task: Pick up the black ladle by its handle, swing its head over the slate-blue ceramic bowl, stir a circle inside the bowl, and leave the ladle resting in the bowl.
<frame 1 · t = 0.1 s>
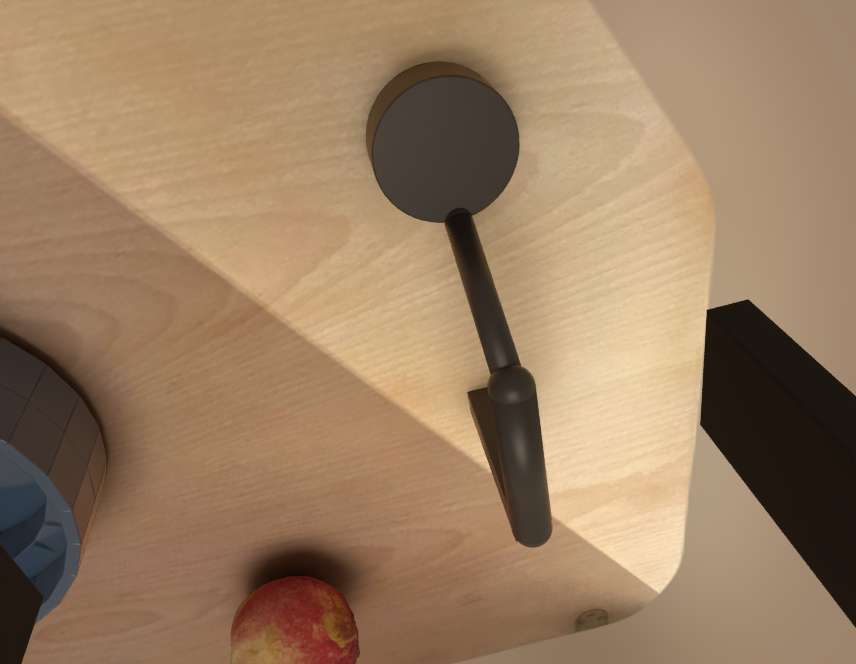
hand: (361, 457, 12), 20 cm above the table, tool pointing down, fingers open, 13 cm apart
fruit: (292, 583, 44), on the table
ladle: (436, 135, 29), on the table
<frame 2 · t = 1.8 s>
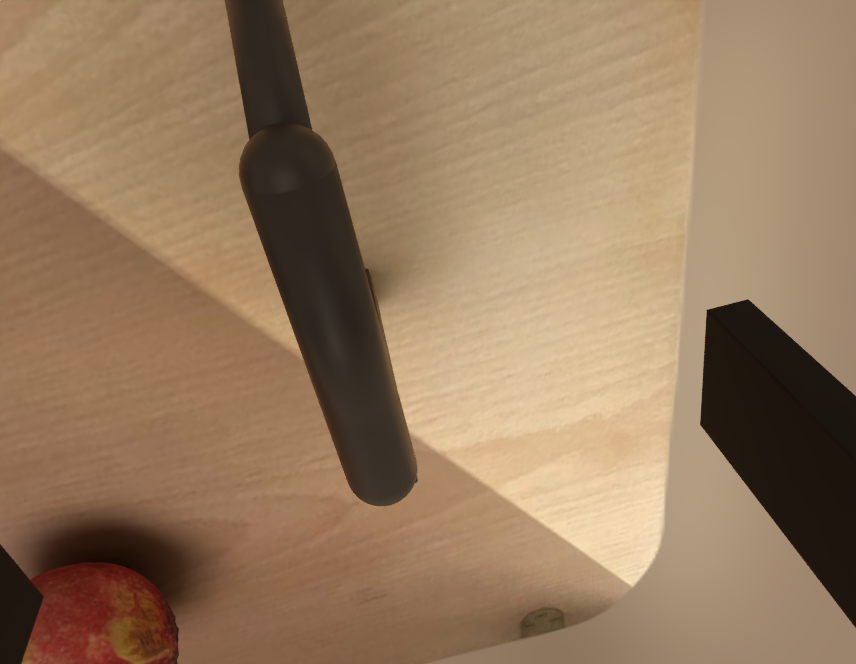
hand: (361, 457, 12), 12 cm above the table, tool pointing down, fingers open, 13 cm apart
fruit: (103, 574, 31), on the table
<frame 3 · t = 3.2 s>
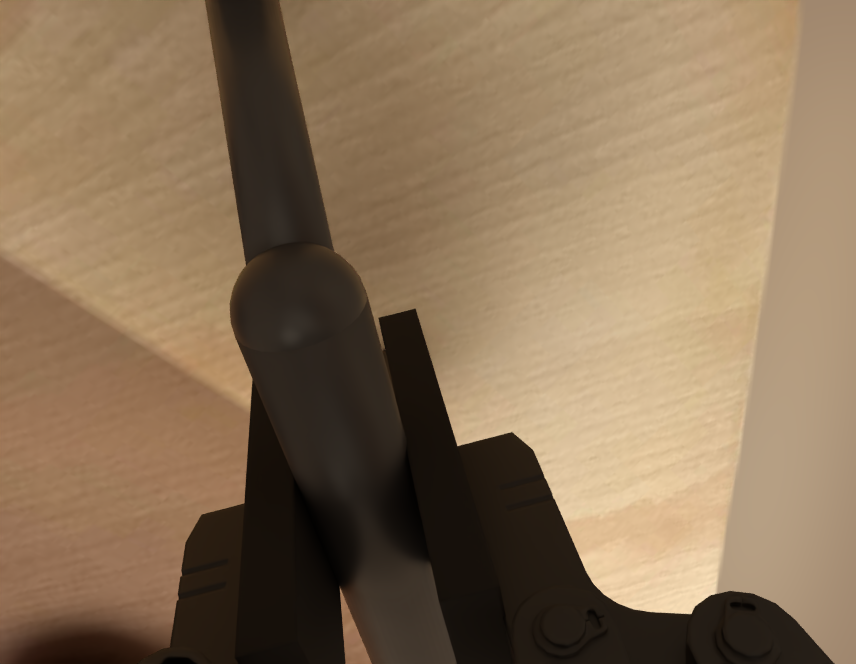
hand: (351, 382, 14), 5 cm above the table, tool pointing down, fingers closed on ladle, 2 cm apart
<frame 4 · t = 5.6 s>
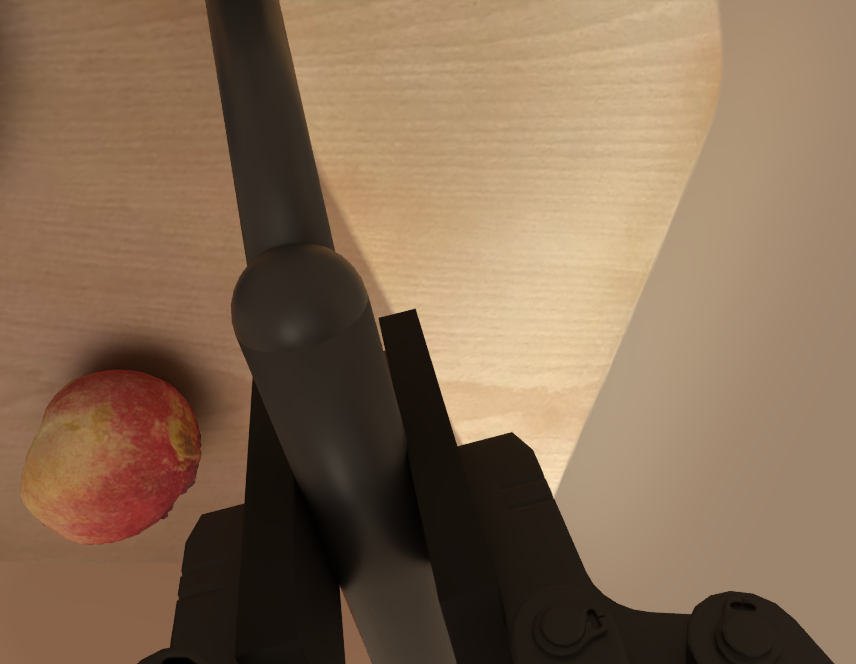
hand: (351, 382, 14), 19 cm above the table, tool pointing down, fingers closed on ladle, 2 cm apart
fruit: (132, 397, 37), on the table
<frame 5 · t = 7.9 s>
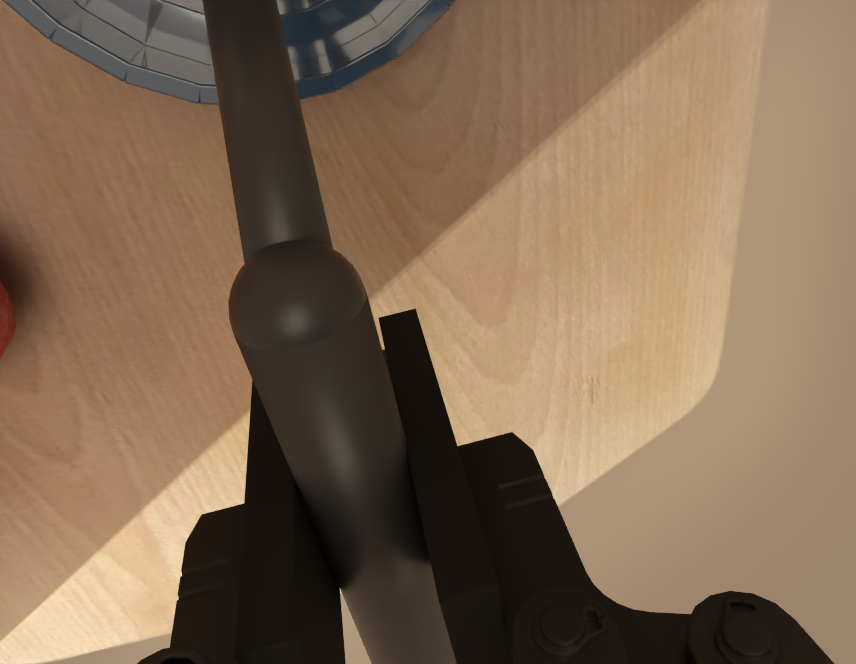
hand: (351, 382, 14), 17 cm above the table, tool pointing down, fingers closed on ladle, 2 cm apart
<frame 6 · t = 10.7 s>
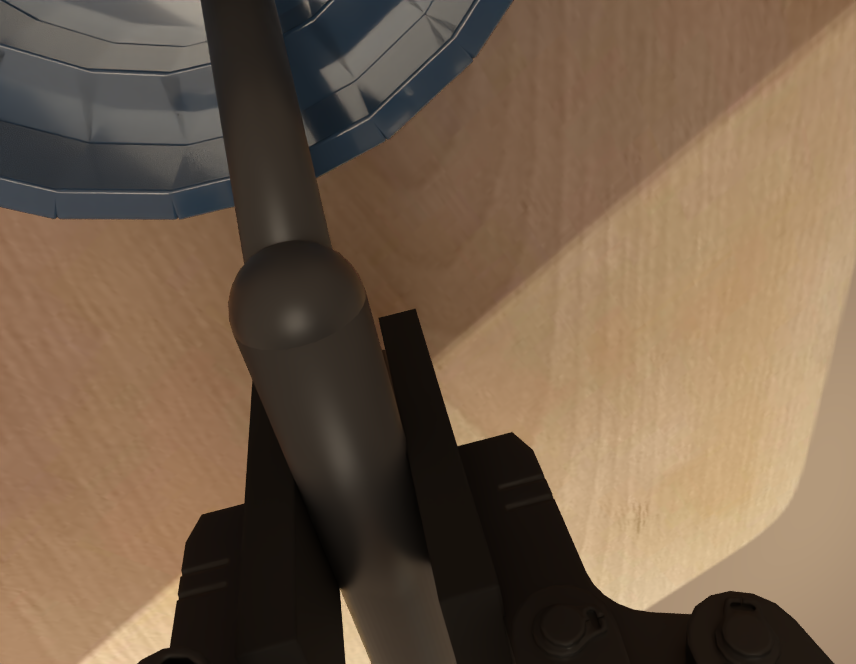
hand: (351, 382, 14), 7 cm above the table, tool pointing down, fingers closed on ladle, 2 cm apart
when the fingers open (6 cm above the table, at t = 12.5 s): ladle stays where it is, resting on bowl.
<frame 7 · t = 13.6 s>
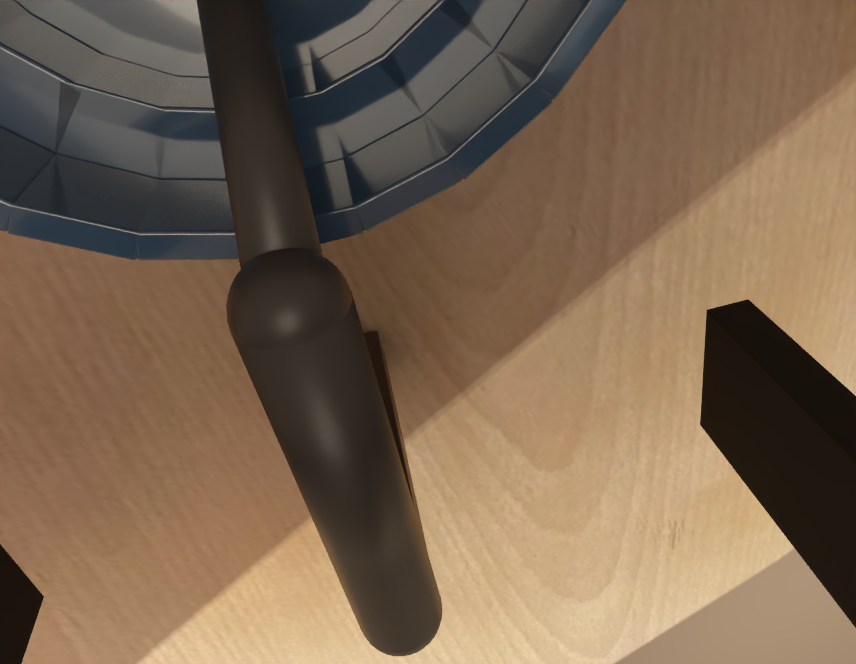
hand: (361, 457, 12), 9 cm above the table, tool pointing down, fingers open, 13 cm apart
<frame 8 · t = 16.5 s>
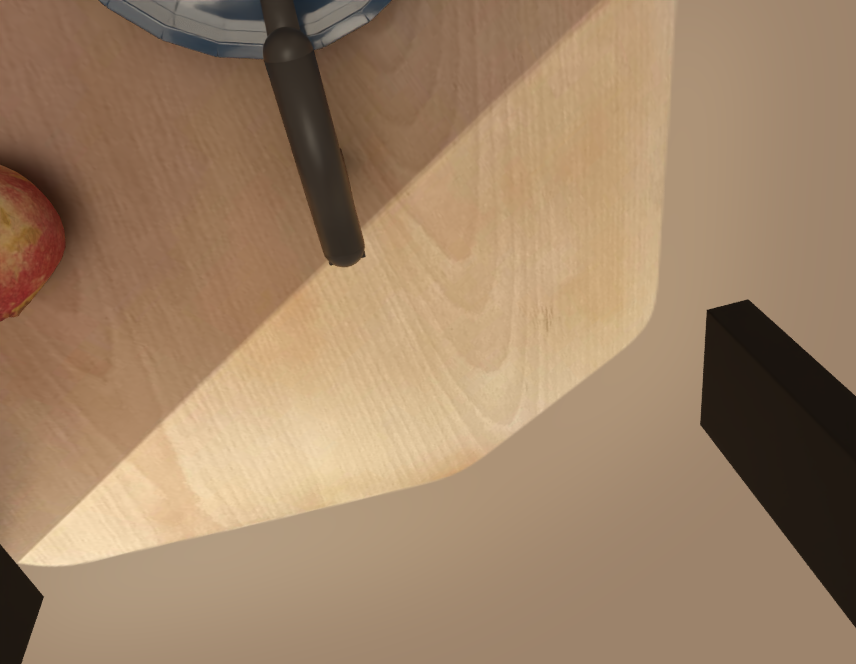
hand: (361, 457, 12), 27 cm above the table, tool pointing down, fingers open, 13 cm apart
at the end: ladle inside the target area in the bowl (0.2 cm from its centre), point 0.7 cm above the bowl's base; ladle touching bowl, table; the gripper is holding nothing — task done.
